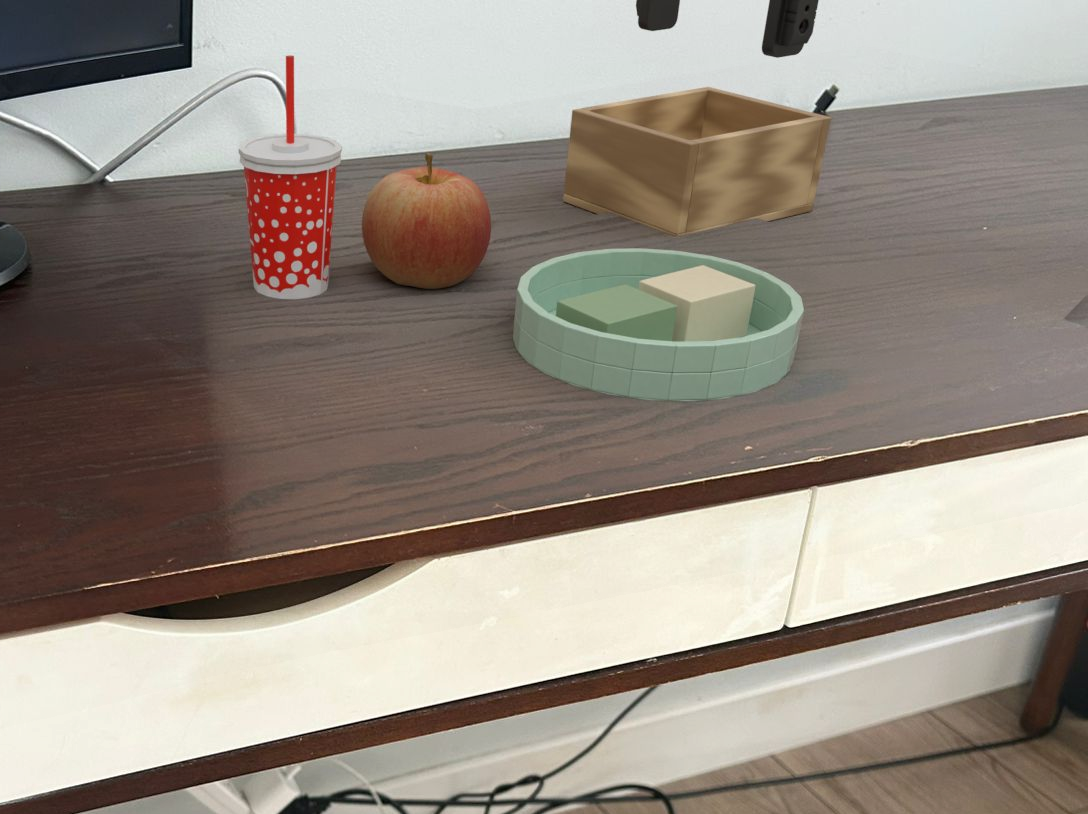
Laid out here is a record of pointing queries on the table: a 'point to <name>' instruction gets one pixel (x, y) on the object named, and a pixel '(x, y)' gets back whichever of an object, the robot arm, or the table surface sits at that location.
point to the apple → (426, 227)
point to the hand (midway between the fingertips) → (715, 41)
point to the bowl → (652, 362)
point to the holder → (694, 160)
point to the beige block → (704, 303)
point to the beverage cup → (290, 206)
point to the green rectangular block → (621, 313)
